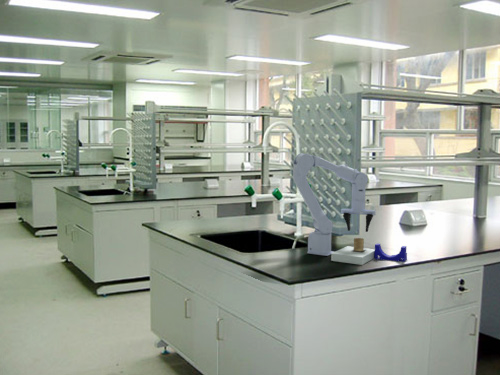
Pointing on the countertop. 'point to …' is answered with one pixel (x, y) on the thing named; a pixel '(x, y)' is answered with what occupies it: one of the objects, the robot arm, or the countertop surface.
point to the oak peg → (358, 245)
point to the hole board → (353, 255)
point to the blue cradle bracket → (399, 257)
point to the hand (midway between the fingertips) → (357, 230)
